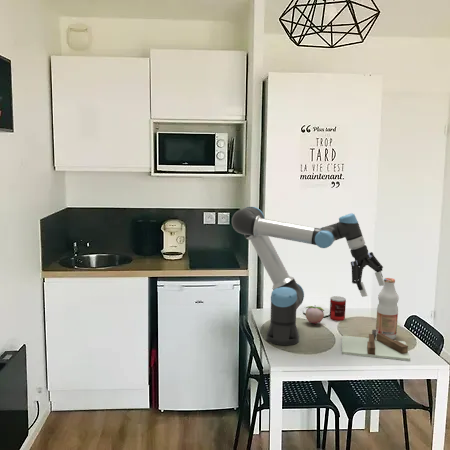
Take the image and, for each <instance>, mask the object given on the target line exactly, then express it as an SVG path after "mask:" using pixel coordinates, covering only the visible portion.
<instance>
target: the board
mask: <svg viewBox="0 0 450 450" xmlns="http://www.w3.org/2000/svg"><path fill="white" fill-rule="evenodd" d="M341 340H342V343H341V345H342V347H341V354H342V355H347V356H348V355H349V356H360V357H369V358H370V357H371V358H378V359H379V358H380V359H389V360H396V361H408V362H411V357H410V353H409V351H408V353H403V354H401V353H400V352H398V351H396V350H394V349H392V348H391V347H389V346H387V345H385V344H383V343H381V342H380V341H378V340H377V338H375V340H374V342H375V355H372V354H368V352H367V341H368V342H369V337H363V336H362V337H361V336H354V335H353V336H351V335H342V339H341ZM398 341H399V342H401V343H403V344H405V345H407V343H406V341H405V340H404V341H403V340H398Z"/></svg>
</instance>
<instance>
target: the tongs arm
mask: <svg viewBox="0 0 450 450" xmlns="http://www.w3.org/2000/svg"><path fill="white" fill-rule="evenodd" d="M376 339H377V340H378V341H380V342H381V343H383V344H385V345H387V346H389V347H391V348H392V349H394V350H396V351H398V352H400V353H401V354H403V353H408V352H409V346H408V345H407V344H406V345H405V344H403V343H401V342H399V341H400V340H395V339H391V338H389V337H387V336H385V335H383V334H381V333H378V334H377V336H376Z"/></svg>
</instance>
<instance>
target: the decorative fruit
mask: <svg viewBox="0 0 450 450" xmlns="http://www.w3.org/2000/svg"><path fill="white" fill-rule="evenodd" d="M305 309H306V311H305V315H304V316H305V318H306V320H307V321H308V322H309V323H311V324H314V325H315V324H318V323H320V322H322V321H323V319H324V315H325V312H324V311H325V309H324V308H322V307H319V306H313V305H309V306H306V307H305Z"/></svg>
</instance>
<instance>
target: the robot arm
mask: <svg viewBox="0 0 450 450" xmlns="http://www.w3.org/2000/svg"><path fill="white" fill-rule="evenodd" d="M231 226H232V228H233V230H234V231H235V232H236V233H238V234H241V235H244V238H245V239H246V240H249V241H250V242H251V244H252V246H253V247H254V250H255V251H256V254H257V255H258V257H259V259H260V262H261V263H262V265H263V267H264V269H265V271H266V272H267V274H268V276H269V278H270V280H271V282H272V284H273V285H272V291H271V294H270V322H269V326H268V327H267V331H266V333H265V334H266V335H265V336H266V337H265V340H266V341H267V342H268V343H271V344H273V345H276V346H277V345H278V346H291V345H295V344H297V343H299V342H300V334H299V330H298V327H297V324H296V323H297V309H298V308H299V307H300V306H301V305H302V303H303V301H304V298H305V291H304V289H303V287H302V286H301V285H300V284H299V283H298V282H297V281H296V279H295V278H294V277H293V276H290V275H289V273H288V271H287V270H286V266H285V265H284V264H283V262H282V260H281V258H280V256H279V254H278V252H277V250H276V248H275V246H274V245H273V243H272V241H271V239H270V237H271V238H277V239H282V240H287V241H292V242H298V243H304V244H307V245H314V246H317V247H318V248H321V249H327V248H329V247H331V246H332V245H333V243H334V242H335V241H338V240H341V239H343V238H345V240H346V243H347V246H348V249H349V250H350V254H351V257H352V258H353V259H354V260H353V261H350V267H351V283H352V284H353V285H354V284H356V287H357V289H358V291H359V293H360V295H361V297H362V298H363V297H368V293H367V291H366V288H365V285H364V282H363V281H362V277H363V270H364V268H365V267H366V266H368V267H370V269H372V270H373V271H374V274H375V277H376V279H377V283H378V286H379V287H382V286H384V285H385V283H384V277H383V274H382V271H383V268H384V266H383V265H382V264H381V263H380V261H379V260H378V259H377V258H376V256H375V255H374V253H373V252H372V251H369V248H368V246H367V245H366V241H365V238H364V235H363V232H362V230H361V227H360V224H359V221H358V219H357V217H356V215H355V213H352V212H351V213H348V214H345V215H342V216H339V218H338V221H337V222H335V223H332V224H330V225H327V226H322V227H313V226H308V225H307V226H306V225H303V224H296V223H289V222H286V221H280V220H275V219H267V218H265V215H264V213H263V211H262V210H261V209H259V207H255V206H247V207H244V208H241V209H238V210H237V211H235V213H234V214H233V215H232V217H231Z"/></svg>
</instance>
